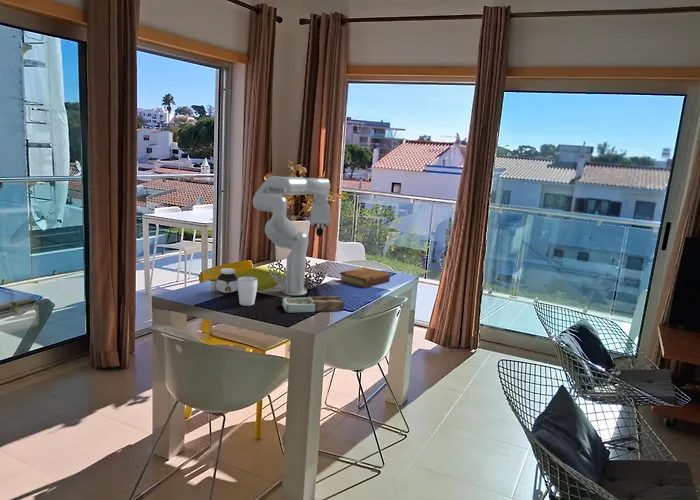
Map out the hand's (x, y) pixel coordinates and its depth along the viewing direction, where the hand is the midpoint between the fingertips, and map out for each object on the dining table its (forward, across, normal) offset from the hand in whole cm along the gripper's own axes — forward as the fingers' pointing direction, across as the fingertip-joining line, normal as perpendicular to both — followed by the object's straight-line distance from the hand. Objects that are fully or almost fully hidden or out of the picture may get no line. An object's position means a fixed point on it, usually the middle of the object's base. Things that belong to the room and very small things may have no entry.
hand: (319, 235), depth 287 cm
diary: (+28, +30, +6) cm, 41 cm away
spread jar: (+27, -47, -12) cm, 56 cm away
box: (+27, -18, -42) cm, 53 cm away
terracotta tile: (+25, -21, -42) cm, 54 cm away
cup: (+27, -41, -33) cm, 59 cm away
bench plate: (+27, -5, -42) cm, 50 cm away
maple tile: (+25, -13, -42) cm, 51 cm away
